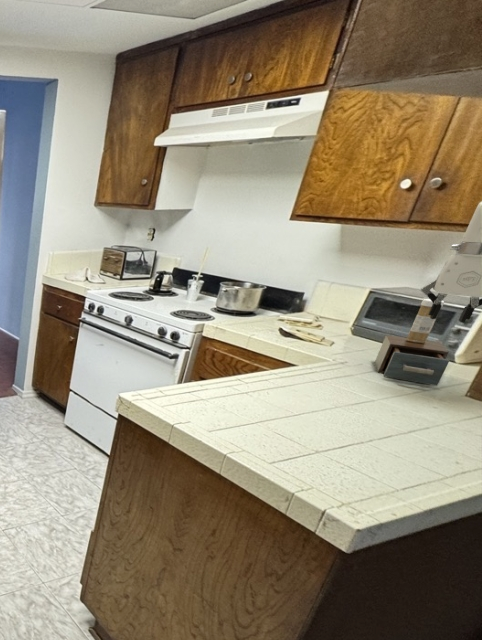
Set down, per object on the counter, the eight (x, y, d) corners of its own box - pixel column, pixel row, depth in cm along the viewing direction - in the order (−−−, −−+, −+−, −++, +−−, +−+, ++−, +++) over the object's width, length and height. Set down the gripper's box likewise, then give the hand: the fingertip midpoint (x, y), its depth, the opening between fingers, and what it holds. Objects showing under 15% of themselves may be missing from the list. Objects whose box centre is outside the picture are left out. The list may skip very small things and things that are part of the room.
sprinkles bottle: (425, 341, 150) (444, 300, 145) (425, 344, 147) (445, 301, 142) (405, 339, 153) (423, 297, 148) (404, 341, 150) (423, 299, 145)
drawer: (439, 389, 134) (452, 364, 131) (385, 380, 141) (396, 355, 138) (430, 374, 147) (441, 350, 144) (380, 366, 154) (390, 343, 151)
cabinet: (434, 381, 143) (448, 351, 140) (377, 372, 151) (390, 343, 147) (427, 370, 154) (440, 342, 150) (374, 361, 161) (386, 335, 157)
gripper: (434, 248, 122) (404, 317, 129) (536, 253, 112) (498, 328, 119) (429, 247, 127) (401, 313, 134) (526, 251, 117) (490, 323, 124)
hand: (447, 319), depth 126 cm, fingers open, 4 cm apart
